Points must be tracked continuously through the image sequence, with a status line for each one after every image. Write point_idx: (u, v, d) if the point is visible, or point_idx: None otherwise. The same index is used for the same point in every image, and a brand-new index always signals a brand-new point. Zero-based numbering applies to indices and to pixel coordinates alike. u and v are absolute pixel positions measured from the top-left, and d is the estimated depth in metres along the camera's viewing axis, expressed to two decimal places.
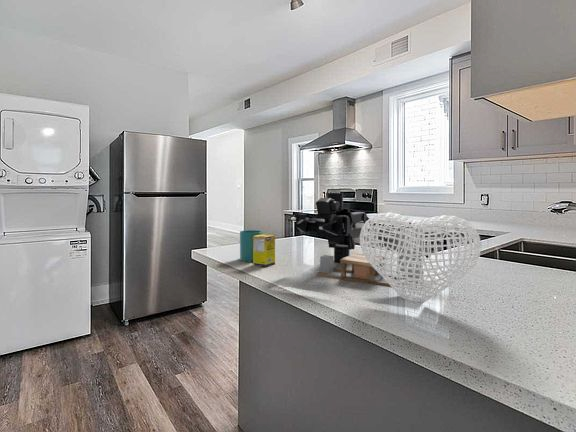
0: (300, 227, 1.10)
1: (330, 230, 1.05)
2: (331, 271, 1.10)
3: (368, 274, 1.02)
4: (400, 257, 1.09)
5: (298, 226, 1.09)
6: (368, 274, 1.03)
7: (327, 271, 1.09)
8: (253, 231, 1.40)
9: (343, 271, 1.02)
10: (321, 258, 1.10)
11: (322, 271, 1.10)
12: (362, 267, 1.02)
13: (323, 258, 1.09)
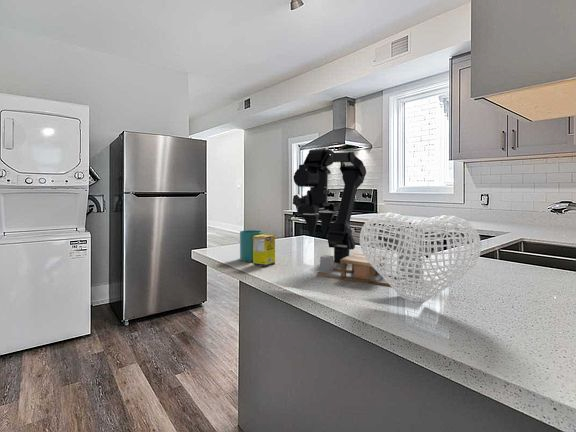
0: (326, 226, 1.18)
1: (313, 226, 1.09)
2: (331, 271, 1.10)
3: (368, 274, 1.02)
4: (400, 257, 1.09)
5: (324, 230, 1.18)
6: (368, 274, 1.03)
7: (327, 271, 1.09)
8: (253, 231, 1.40)
9: (343, 271, 1.02)
10: (321, 258, 1.10)
11: (322, 271, 1.10)
12: (362, 267, 1.02)
13: (323, 258, 1.09)
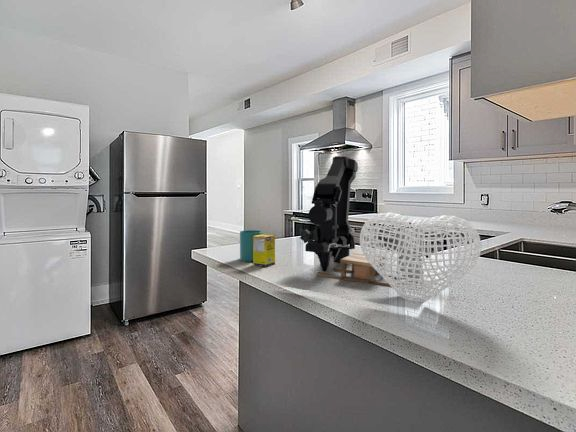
0: None
1: (326, 263, 1.07)
2: (331, 271, 1.10)
3: (368, 274, 1.02)
4: (400, 257, 1.09)
5: None
6: (368, 274, 1.03)
7: (327, 271, 1.09)
8: (253, 231, 1.40)
9: (343, 271, 1.02)
10: None
11: (322, 271, 1.10)
12: (362, 267, 1.02)
13: None
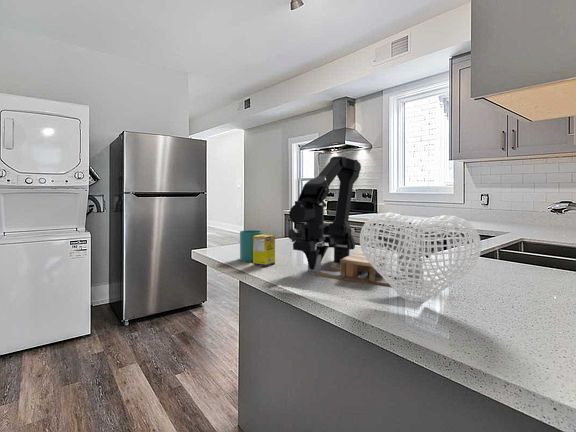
0: None
1: (313, 261, 1.10)
2: (318, 269, 1.12)
3: (353, 272, 1.05)
4: (400, 257, 1.09)
5: None
6: (354, 272, 1.05)
7: (314, 269, 1.11)
8: (253, 231, 1.40)
9: (343, 271, 1.02)
10: None
11: (310, 269, 1.12)
12: (348, 265, 1.04)
13: None
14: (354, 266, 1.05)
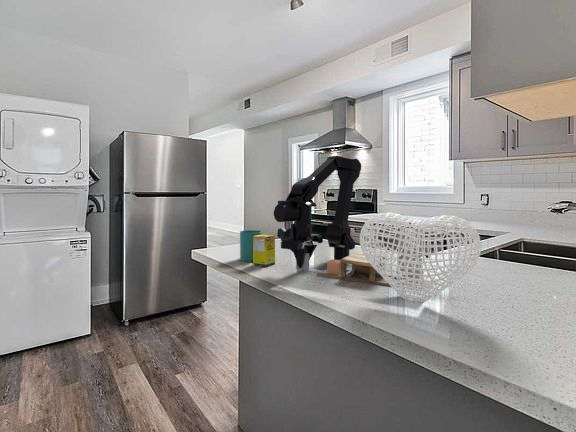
0: None
1: (301, 259, 1.12)
2: (307, 268, 1.15)
3: (340, 271, 1.07)
4: (400, 257, 1.09)
5: None
6: None
7: (303, 267, 1.13)
8: (253, 231, 1.40)
9: (343, 271, 1.02)
10: None
11: (298, 268, 1.14)
12: (334, 263, 1.07)
13: None
14: None
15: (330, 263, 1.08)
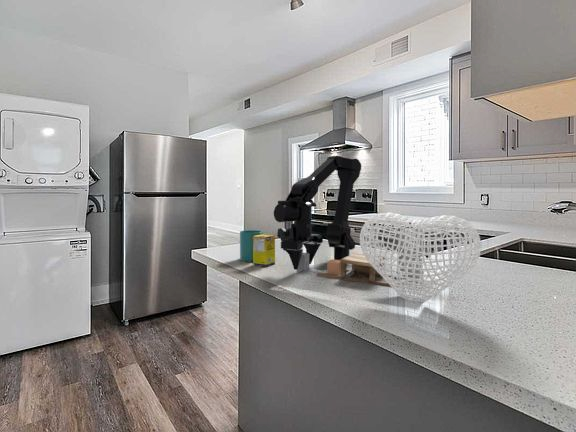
0: (311, 258, 1.19)
1: (297, 261, 1.10)
2: (307, 268, 1.15)
3: (340, 271, 1.07)
4: (400, 257, 1.09)
5: (309, 262, 1.19)
6: None
7: (302, 267, 1.14)
8: (253, 231, 1.40)
9: (343, 271, 1.02)
10: None
11: (298, 268, 1.14)
12: (334, 263, 1.07)
13: None
14: None
15: (330, 263, 1.08)
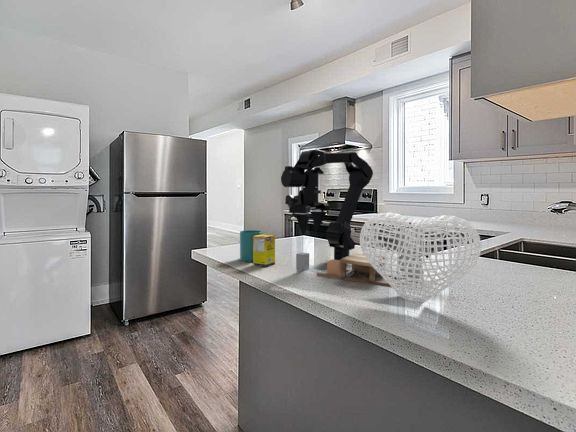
0: (317, 225, 1.22)
1: (304, 225, 1.13)
2: (307, 268, 1.15)
3: (340, 271, 1.07)
4: (400, 257, 1.09)
5: (316, 229, 1.22)
6: None
7: (302, 267, 1.14)
8: (253, 231, 1.40)
9: (343, 271, 1.02)
10: (297, 255, 1.14)
11: (298, 268, 1.14)
12: (334, 263, 1.07)
13: (299, 255, 1.14)
14: None
15: (330, 263, 1.08)
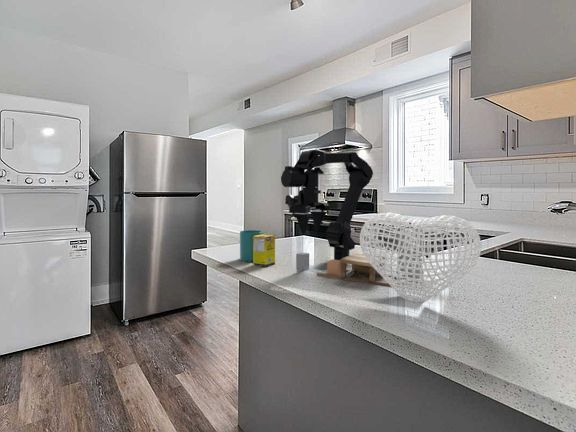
0: (317, 225, 1.22)
1: (304, 225, 1.13)
2: (307, 268, 1.15)
3: (340, 271, 1.07)
4: (400, 257, 1.09)
5: (316, 229, 1.22)
6: None
7: (302, 267, 1.14)
8: (253, 231, 1.40)
9: (343, 271, 1.02)
10: (297, 255, 1.14)
11: (298, 268, 1.14)
12: (334, 263, 1.07)
13: (299, 255, 1.14)
14: None
15: (330, 263, 1.08)
